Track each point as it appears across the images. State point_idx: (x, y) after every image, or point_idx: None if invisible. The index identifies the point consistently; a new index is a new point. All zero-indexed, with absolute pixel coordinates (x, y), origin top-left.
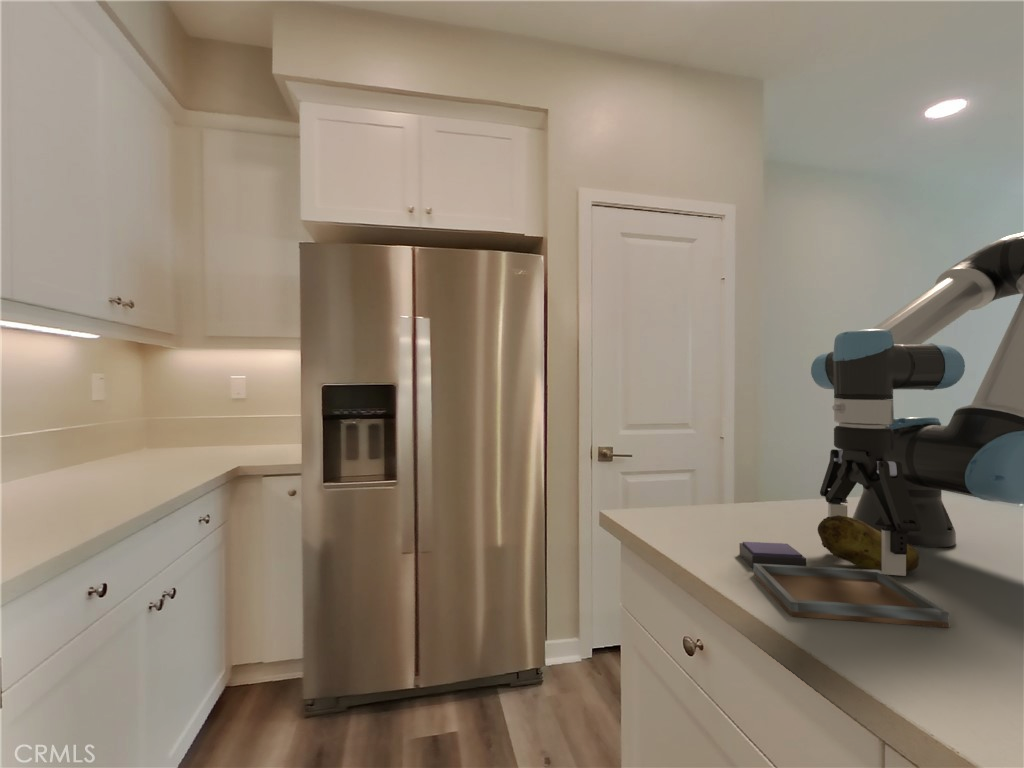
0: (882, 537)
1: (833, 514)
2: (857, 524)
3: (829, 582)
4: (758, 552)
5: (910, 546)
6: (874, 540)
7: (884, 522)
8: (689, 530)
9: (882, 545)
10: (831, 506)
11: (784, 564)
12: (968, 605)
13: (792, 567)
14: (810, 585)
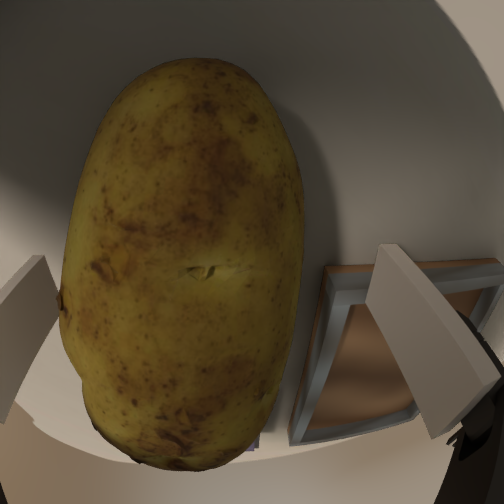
0: (421, 403)
1: (12, 379)
2: (221, 438)
3: (345, 376)
4: (252, 448)
5: (209, 92)
6: (278, 347)
7: (453, 458)
8: (93, 430)
9: (408, 375)
10: (5, 415)
11: None
12: (457, 130)
13: (308, 422)
14: (352, 397)
